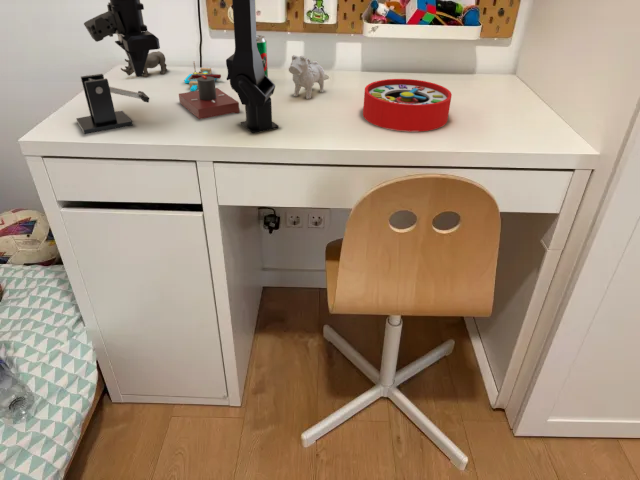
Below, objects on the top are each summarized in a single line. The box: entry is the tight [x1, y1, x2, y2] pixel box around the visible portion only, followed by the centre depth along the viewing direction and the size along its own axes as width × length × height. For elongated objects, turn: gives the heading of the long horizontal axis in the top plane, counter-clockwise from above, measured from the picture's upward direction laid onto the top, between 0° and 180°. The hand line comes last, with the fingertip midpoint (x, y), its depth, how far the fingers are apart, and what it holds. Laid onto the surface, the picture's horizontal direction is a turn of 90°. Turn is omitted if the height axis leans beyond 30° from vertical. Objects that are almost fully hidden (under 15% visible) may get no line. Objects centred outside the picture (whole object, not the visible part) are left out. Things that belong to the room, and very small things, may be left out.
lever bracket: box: [75, 73, 133, 135], centre depth 106 cm, size 10×8×10 cm
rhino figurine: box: [120, 50, 168, 78], centre depth 139 cm, size 4×14×6 cm, turn 130°
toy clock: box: [362, 78, 453, 133], centre depth 115 cm, size 20×6×20 cm
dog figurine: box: [288, 54, 325, 100], centre depth 125 cm, size 5×13×11 cm, turn 150°
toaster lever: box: [88, 78, 150, 103], centre depth 107 cm, size 12×5×2 cm, turn 122°
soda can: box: [256, 34, 269, 78], centre depth 133 cm, size 5×5×12 cm
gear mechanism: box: [184, 61, 222, 92], centre depth 135 cm, size 20×5×9 cm
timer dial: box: [197, 75, 217, 100], centre depth 116 cm, size 4×4×5 cm
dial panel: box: [178, 87, 240, 120], centre depth 118 cm, size 13×10×3 cm
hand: (139, 76), depth 108 cm, fingers closed
